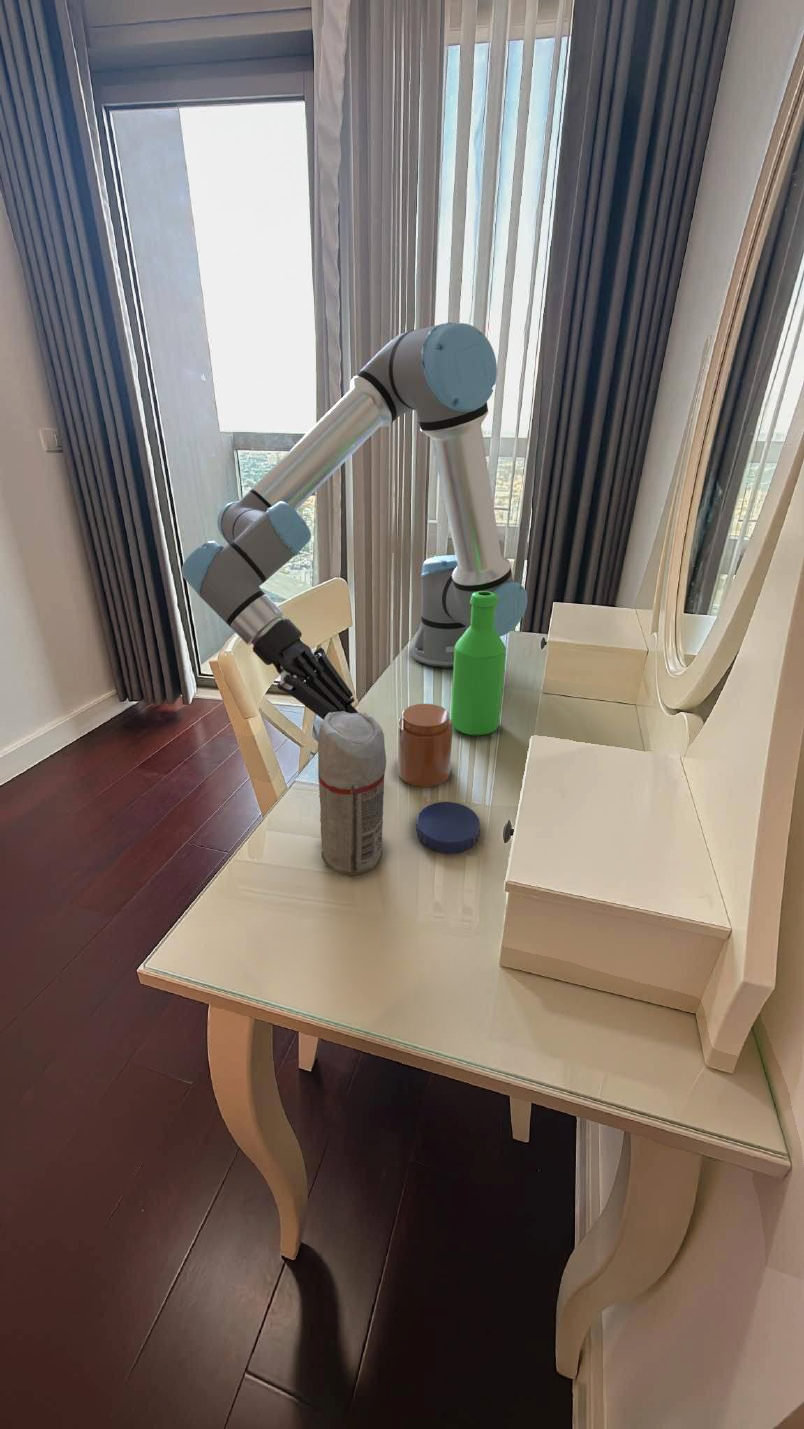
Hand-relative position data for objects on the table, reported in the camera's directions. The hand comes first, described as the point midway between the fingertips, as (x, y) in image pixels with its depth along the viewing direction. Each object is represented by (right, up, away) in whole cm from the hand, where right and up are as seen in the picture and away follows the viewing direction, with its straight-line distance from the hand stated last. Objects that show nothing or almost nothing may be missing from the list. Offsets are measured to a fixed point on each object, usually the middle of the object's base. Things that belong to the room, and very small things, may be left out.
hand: (371, 740), depth 91 cm
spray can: (-1, -14, -17) cm, 22 cm away
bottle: (+18, +2, +13) cm, 23 cm away
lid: (+11, -11, -14) cm, 21 cm away
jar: (+9, -5, 0) cm, 10 cm away
